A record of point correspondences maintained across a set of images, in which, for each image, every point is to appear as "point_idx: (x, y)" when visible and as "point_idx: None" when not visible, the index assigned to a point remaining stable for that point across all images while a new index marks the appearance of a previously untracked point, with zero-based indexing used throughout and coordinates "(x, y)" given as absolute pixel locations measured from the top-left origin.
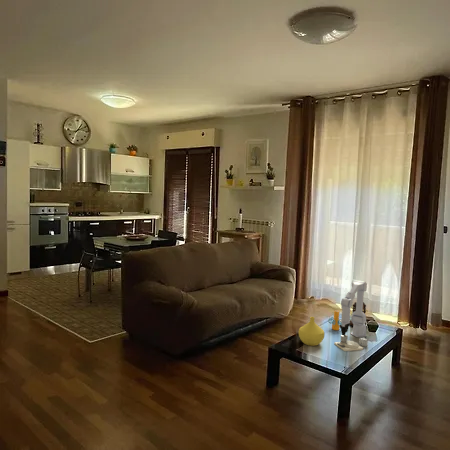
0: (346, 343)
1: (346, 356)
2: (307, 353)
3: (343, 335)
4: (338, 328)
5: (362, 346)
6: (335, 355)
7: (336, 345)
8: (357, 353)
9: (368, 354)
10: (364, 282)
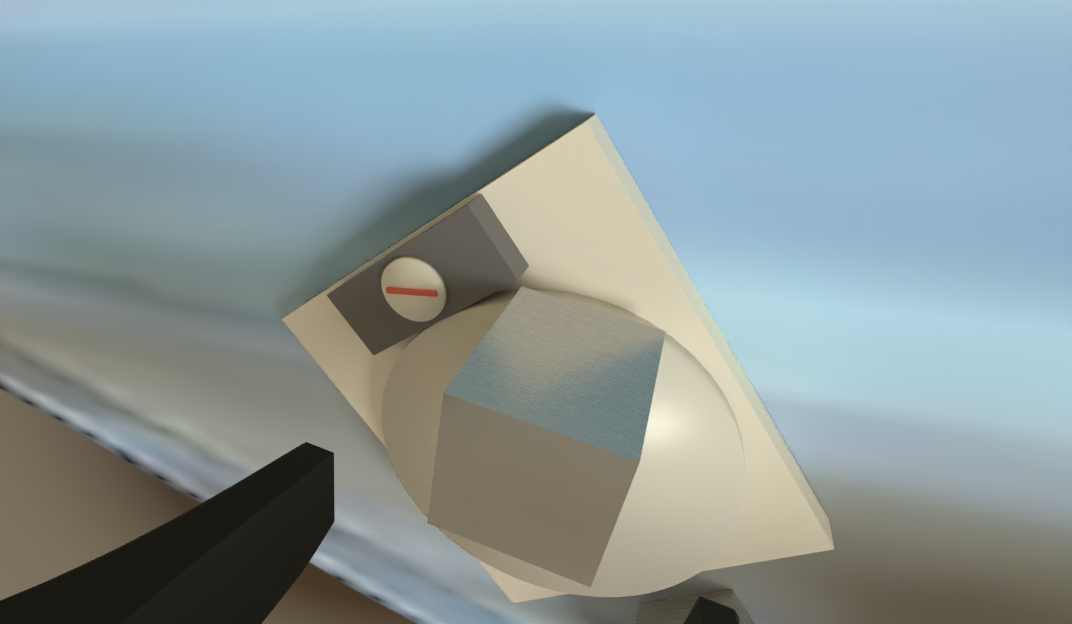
0: None
1: (135, 301)
2: None
3: (519, 473)
4: None
5: (639, 611)
6: (42, 128)
7: (512, 168)
8: (334, 468)
9: (381, 580)
10: None
